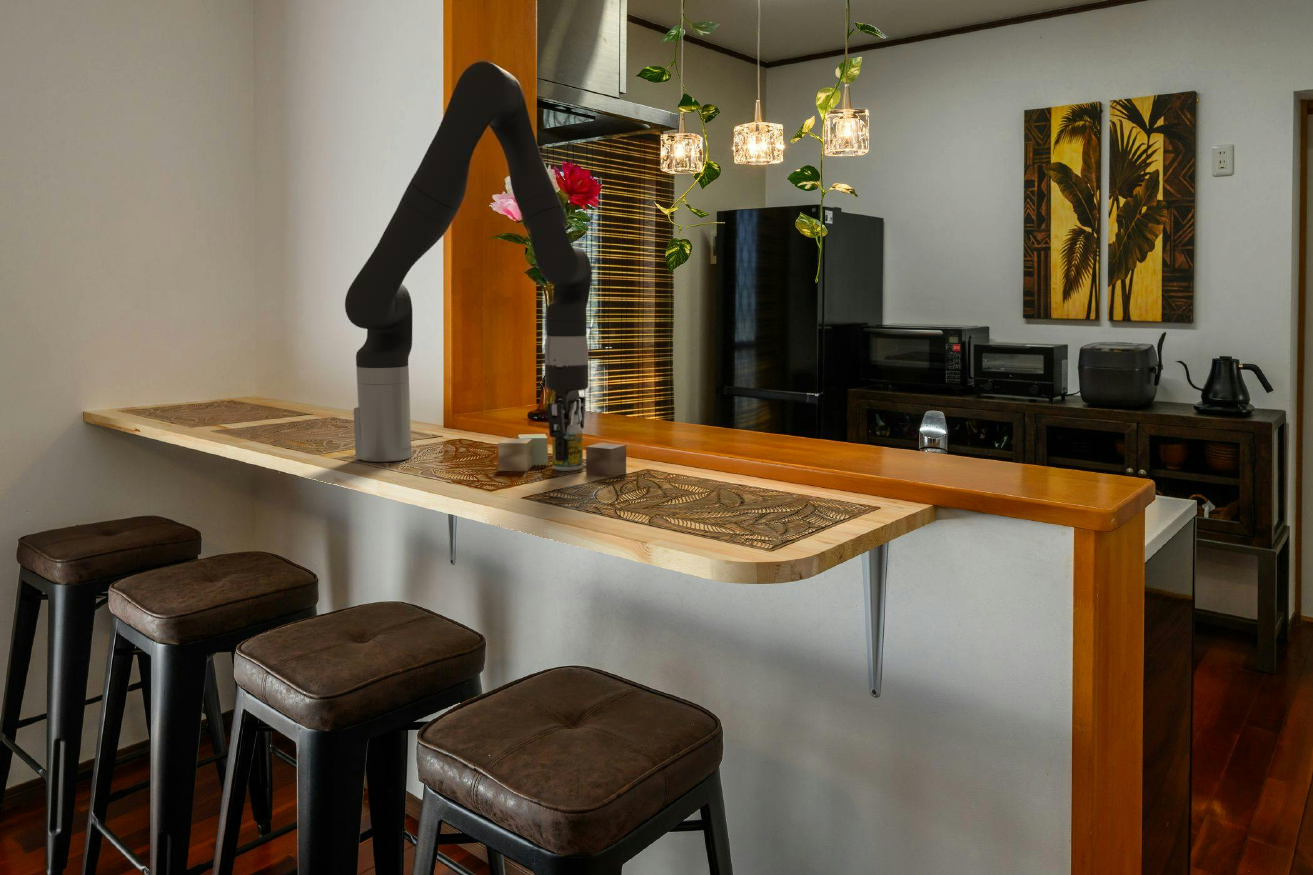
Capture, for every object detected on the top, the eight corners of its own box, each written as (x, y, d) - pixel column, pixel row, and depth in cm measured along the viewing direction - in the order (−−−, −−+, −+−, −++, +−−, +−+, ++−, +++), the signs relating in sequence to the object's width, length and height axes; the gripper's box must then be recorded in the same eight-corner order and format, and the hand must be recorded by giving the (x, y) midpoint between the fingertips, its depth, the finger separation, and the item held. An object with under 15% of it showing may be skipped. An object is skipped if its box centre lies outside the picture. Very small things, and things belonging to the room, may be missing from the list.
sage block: (520, 466, 163) (519, 438, 162) (518, 461, 168) (518, 434, 167) (547, 465, 164) (547, 437, 163) (545, 460, 169) (545, 433, 168)
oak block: (498, 471, 158) (498, 442, 157) (504, 465, 163) (504, 438, 162) (526, 471, 158) (526, 443, 157) (532, 466, 163) (531, 438, 162)
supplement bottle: (573, 464, 164) (573, 412, 162) (588, 469, 159) (588, 415, 158) (547, 467, 161) (546, 414, 159) (561, 472, 156) (560, 417, 155)
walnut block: (586, 475, 154) (586, 446, 154) (601, 470, 159) (601, 442, 158) (611, 478, 152) (611, 449, 151) (626, 473, 156) (626, 444, 156)
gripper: (559, 359, 165) (560, 450, 168) (531, 364, 151) (533, 463, 154) (599, 360, 163) (599, 452, 166) (574, 365, 149) (575, 465, 152)
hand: (567, 457), depth 160 cm, fingers closed on supplement bottle, 5 cm apart
